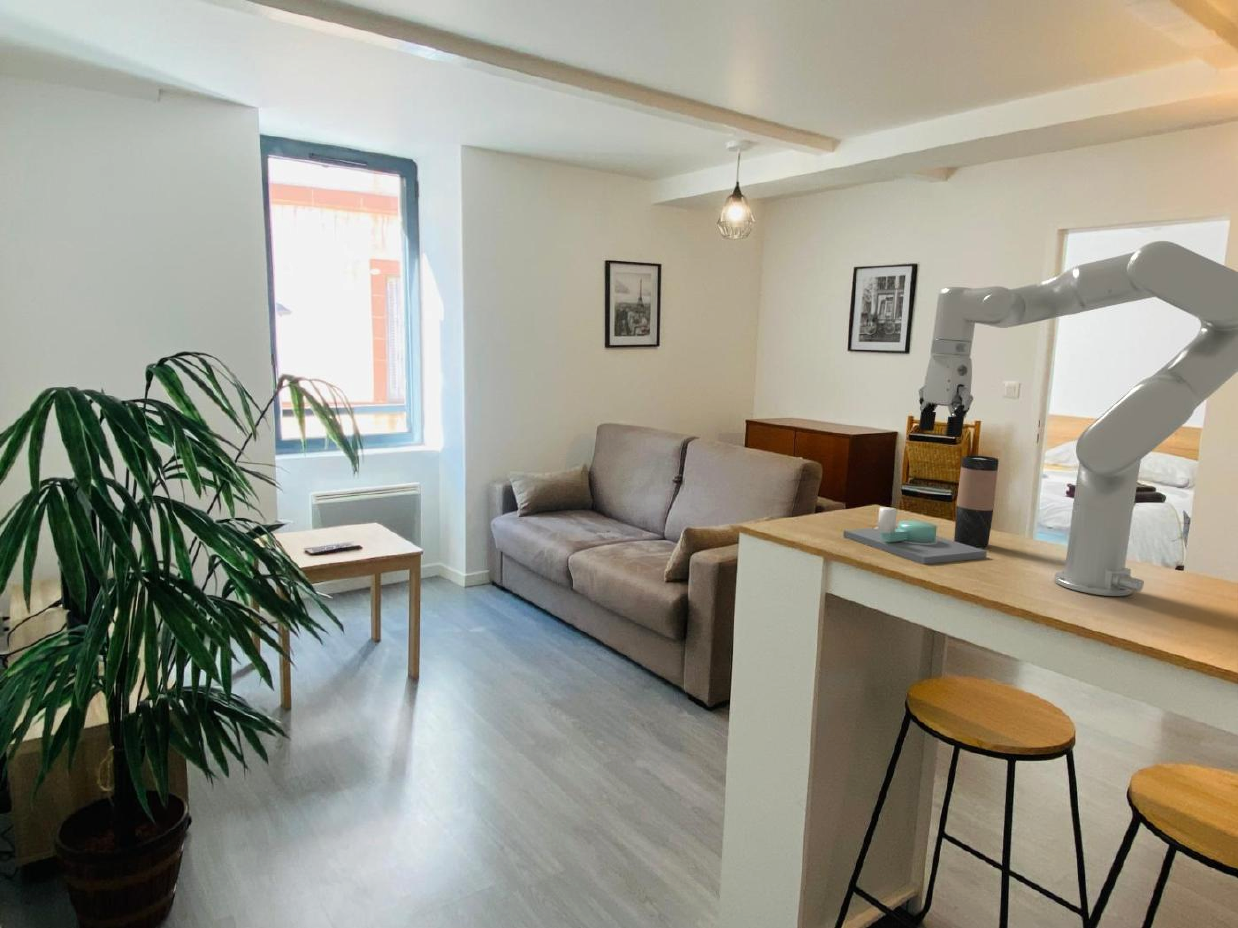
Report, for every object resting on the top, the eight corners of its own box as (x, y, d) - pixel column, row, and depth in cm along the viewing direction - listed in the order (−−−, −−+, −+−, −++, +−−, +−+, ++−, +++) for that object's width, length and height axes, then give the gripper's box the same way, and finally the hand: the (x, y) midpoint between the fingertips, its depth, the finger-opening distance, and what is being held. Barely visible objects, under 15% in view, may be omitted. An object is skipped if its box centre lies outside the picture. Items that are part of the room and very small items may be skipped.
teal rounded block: (915, 532, 178) (918, 502, 177) (943, 540, 171) (946, 509, 170) (865, 536, 172) (868, 505, 171) (892, 545, 165) (895, 513, 164)
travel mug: (995, 549, 174) (1005, 460, 171) (960, 547, 174) (970, 459, 171) (980, 540, 181) (989, 456, 179) (947, 539, 182) (956, 454, 179)
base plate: (986, 557, 166) (986, 549, 166) (923, 564, 158) (924, 556, 158) (901, 532, 187) (902, 525, 187) (843, 536, 180) (843, 529, 179)
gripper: (994, 352, 150) (981, 440, 153) (943, 349, 167) (932, 428, 170) (959, 350, 149) (947, 438, 151) (911, 347, 165) (900, 427, 168)
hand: (939, 433), depth 160 cm, fingers open, 9 cm apart
